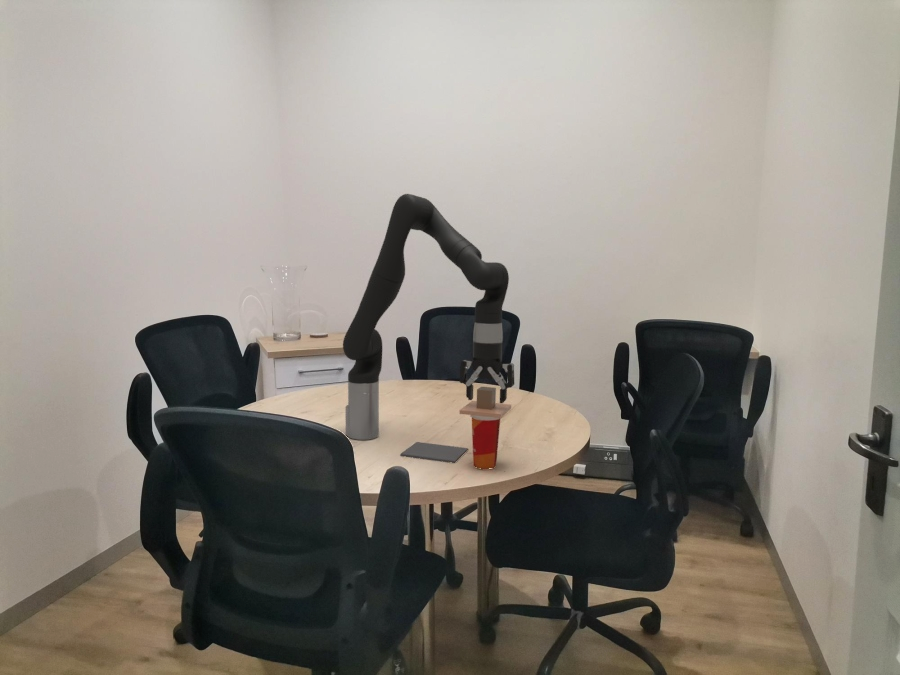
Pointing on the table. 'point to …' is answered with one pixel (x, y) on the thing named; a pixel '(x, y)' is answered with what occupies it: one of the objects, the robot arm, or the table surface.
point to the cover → (486, 404)
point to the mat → (434, 452)
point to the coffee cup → (485, 441)
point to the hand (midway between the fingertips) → (486, 401)
